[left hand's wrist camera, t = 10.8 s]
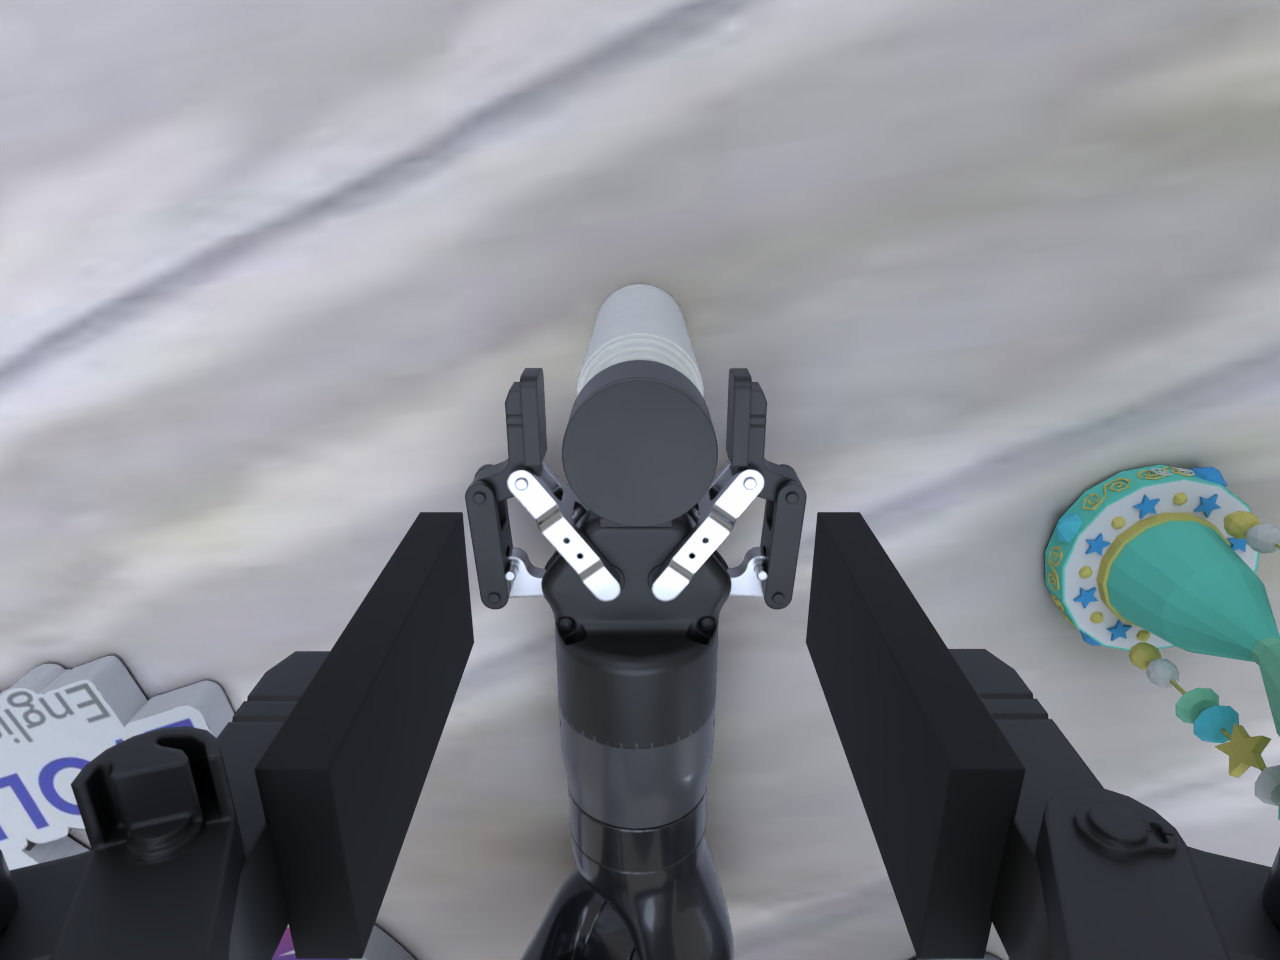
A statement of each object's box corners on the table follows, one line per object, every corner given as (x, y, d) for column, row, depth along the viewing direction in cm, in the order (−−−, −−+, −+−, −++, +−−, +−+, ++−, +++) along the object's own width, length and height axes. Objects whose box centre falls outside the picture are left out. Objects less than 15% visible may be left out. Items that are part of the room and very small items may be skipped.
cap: (545, 394, 23) (535, 418, 20) (677, 336, 22) (681, 354, 20) (605, 514, 24) (602, 549, 22) (731, 461, 24) (741, 493, 21)
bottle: (580, 306, 37) (532, 412, 21) (663, 268, 37) (681, 347, 20) (618, 387, 39) (601, 546, 22) (698, 351, 38) (743, 489, 22)
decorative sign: (171, 635, 41) (420, 1009, 51) (194, 613, 43) (429, 976, 53) (-343, 807, 45) (-18, 1121, 55) (-299, 779, 47) (6, 1086, 58)
